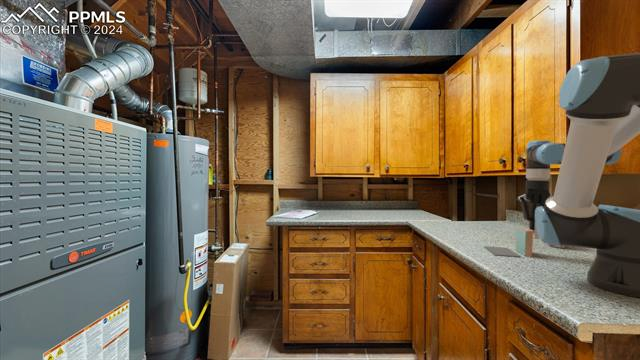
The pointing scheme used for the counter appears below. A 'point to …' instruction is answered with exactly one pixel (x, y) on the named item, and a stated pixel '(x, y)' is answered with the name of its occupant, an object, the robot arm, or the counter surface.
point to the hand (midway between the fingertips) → (535, 238)
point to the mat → (502, 251)
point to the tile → (524, 241)
